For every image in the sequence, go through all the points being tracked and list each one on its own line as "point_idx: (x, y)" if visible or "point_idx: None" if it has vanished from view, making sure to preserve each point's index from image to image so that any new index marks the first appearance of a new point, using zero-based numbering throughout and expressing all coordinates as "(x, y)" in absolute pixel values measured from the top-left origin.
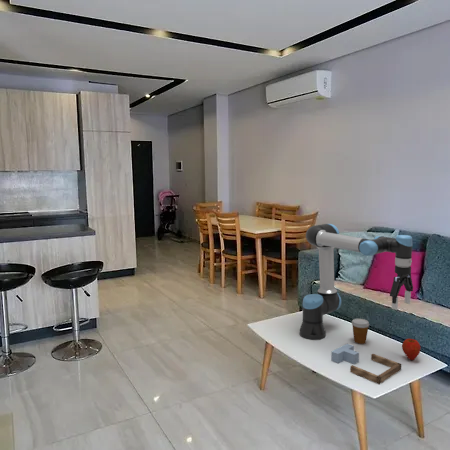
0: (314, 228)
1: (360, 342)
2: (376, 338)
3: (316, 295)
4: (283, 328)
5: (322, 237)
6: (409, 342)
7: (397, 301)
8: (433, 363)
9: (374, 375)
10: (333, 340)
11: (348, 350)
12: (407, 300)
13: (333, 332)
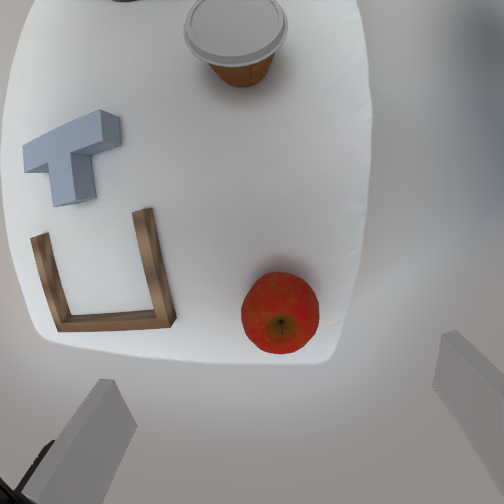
0: None
1: (223, 79)
2: (333, 84)
3: None
4: None
5: None
6: (256, 333)
7: (94, 496)
8: (315, 349)
9: (53, 316)
10: (161, 19)
11: (60, 166)
12: (453, 387)
13: None
